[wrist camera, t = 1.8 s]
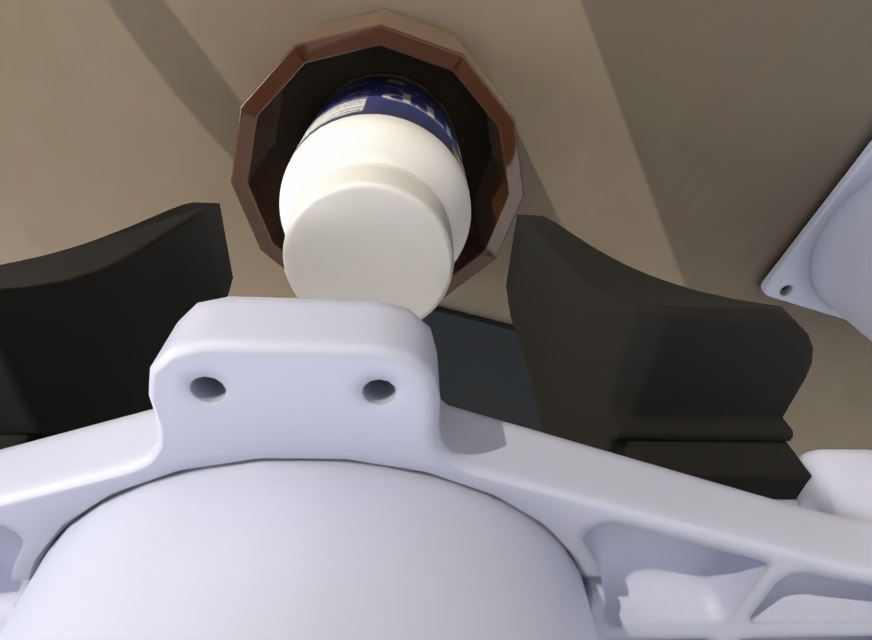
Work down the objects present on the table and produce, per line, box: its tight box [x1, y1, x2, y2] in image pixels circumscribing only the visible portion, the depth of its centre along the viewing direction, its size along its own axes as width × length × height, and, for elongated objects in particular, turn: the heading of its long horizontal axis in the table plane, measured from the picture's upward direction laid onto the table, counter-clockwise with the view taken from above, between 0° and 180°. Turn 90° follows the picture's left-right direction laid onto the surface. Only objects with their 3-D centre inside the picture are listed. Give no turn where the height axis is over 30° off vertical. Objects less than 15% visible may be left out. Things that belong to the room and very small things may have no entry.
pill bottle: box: [279, 74, 471, 320], centre depth 16 cm, size 5×5×9 cm
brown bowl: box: [231, 9, 524, 298], centre depth 18 cm, size 9×9×4 cm
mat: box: [422, 307, 541, 432], centre depth 27 cm, size 16×10×1 cm, turn 72°
